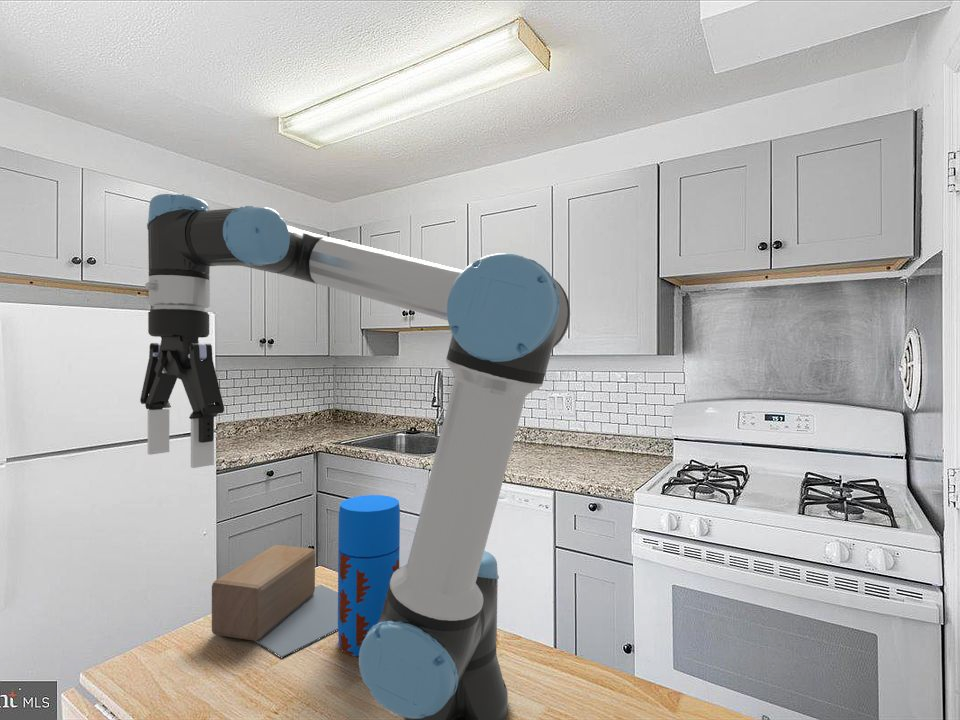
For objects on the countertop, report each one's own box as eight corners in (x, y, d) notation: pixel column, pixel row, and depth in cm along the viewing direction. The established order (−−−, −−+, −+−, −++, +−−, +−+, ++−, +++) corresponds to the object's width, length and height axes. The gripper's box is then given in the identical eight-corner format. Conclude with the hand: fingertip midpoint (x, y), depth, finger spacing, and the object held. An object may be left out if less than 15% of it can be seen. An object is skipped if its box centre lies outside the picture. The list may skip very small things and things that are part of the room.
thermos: (381, 619, 104) (382, 491, 104) (410, 643, 96) (411, 504, 96) (327, 637, 98) (328, 501, 97) (353, 664, 89) (355, 515, 89)
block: (258, 587, 94) (317, 547, 114) (209, 581, 96) (275, 542, 116) (258, 643, 94) (316, 593, 114) (209, 636, 97) (275, 588, 116)
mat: (376, 611, 107) (376, 609, 107) (281, 658, 91) (281, 656, 91) (320, 586, 118) (320, 584, 118) (227, 624, 102) (227, 622, 102)
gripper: (115, 310, 80) (115, 451, 80) (193, 303, 65) (193, 477, 65) (168, 313, 86) (168, 445, 86) (252, 307, 71) (251, 467, 71)
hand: (179, 459), depth 76 cm, fingers open, 13 cm apart
